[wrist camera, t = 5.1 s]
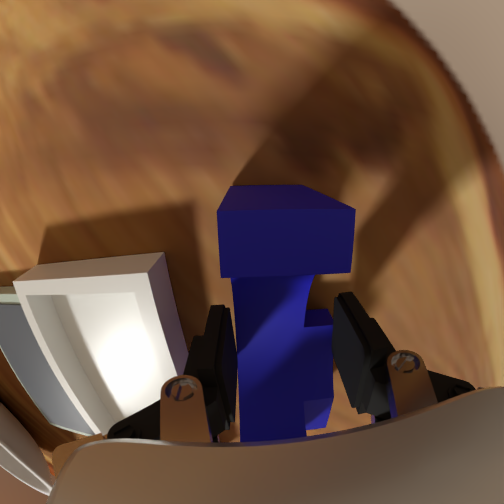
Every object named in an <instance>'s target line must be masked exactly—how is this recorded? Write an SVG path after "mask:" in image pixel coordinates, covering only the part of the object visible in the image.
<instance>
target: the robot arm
mask: <svg viewBox="0 0 504 504" xmlns="http://www.w3.org/2000/svg"><path fill="white" fill-rule="evenodd" d="M331 349H332V354H333V357H334V360H335V362H336V365H337V368H338V370H339V373H340V376H341V379H342V382H343V384H344V387H345V390H346V393H347V396H348V398H349V401H350V404H351V407H352V408H355V407H356V409H357V412H358V414H362V413H369V414H371V424H369V425H365V426H361V427H356V428H352V429H347V430H342V431H337V432H332V433H326V434H320V435H314V436H307V437H300V438H291V439H282V440H271V441H257V442H232V443H220V440H219V436H218V434H220V433H221V432H223V431H224V430H230V422H235V409H236V389H237V369H238V358H237V351H236V345H235V339H234V332H233V326H232V320H231V313H230V308H225V305H211V307H210V311H209V315H208V320H207V324H206V328H205V332H204V335H202V336H194V337H193V340H192V344H191V347H190V351H189V355H188V358H187V362H186V365H185V369H184V373H183V375H179V376H175V377H173V378H171V379H169V380H167V381H166V382H165V383H164V384H163V386H162V388H161V394H160V400H158V401H156V402H155V403H153V404H151V405H149V406H147V407H145V408H144V409H142V410H140V411H138V412H136V413H134V414H132V415H131V416H129V417H127V418H125V419H123V420H121V421H119V422H117V423H116V424H114V425H113V426H112V427H111V428H110V429H109V431H108V434H106V435H103V434H102V433H99V434H96V435H92V436H89V437H86V438H83V439H79V440H76V441H72V442H68V443H65V444H62V445H59V446H58V447H57V448H56V449H55V450H54V451H53V454H52V463H53V468H54V473H55V478H56V481H55V483H54V485H53V488H52V490H51V492H50V495H49V497H48V500H47V503H46V504H504V387H487V388H481V387H478V389H477V390H476V389H475V388H474V387H473V385H471V384H470V383H469V382H466V381H463V380H460V379H456V378H453V377H449V376H446V375H442V374H439V373H436V372H432V371H429V370H427V369H426V366H425V363H424V361H423V359H422V357H421V356H420V355H418V354H417V353H415V352H413V351H409V350H399V351H396V350H395V349H394V347H393V346H392V344H391V343H390V341H389V340H388V338H387V337H386V335H385V334H384V332H383V331H382V329H381V328H380V326H379V325H378V323H377V322H376V320H375V319H374V318H370V317H369V316H368V314H367V313H366V311H365V310H364V308H363V307H362V305H361V304H360V303H359V301H358V300H357V298H356V297H355V295H354V294H353V292H345V293H339V295H338V297H335V299H334V315H333V331H332V344H331Z"/></svg>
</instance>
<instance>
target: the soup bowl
mask: <svg viewBox="0 0 504 504" xmlns="http://www.w3.org/2000/svg"><path fill="white" fill-rule="evenodd" d="M0 466H1V467H2V468H4V469H5V470H6V471H8V472H9V473H10V474H12V475H13V476H15V477H16V478H18V479H19V480H21V481H22V482H24V483H25V484H27V485H29V486H30V487H32V488H34V489H36V490H38V491H40V492H42V493H44V494H46V495H48V496H49V495H50V492H51V490H52V488H53V485H52V481H51V475H50V471H49V467H48V465H47V462H46V460H45V458H44V455H43V454H42V452H41V450H40V448H39V446H38V445H37V443H36V442H35V440H34V439H33V438H32V436H31V435H30V434H29V433H28V431H27V430H26V429H25V428H24V427H23V425H22V424H21V423H20V422H19V421H18V420H17V419H16V418H15V417H14V416H13V415H12V413H11V412H10V411H9V410H8V409H7V408H6V407H5V406H4V405H3V404H2V403H1V402H0Z"/></svg>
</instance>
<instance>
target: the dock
mask: <svg viewBox="0 0 504 504" xmlns="http://www.w3.org/2000/svg"><path fill="white" fill-rule="evenodd" d="M12 282H13V285H14V287H15V290H16V293H17V296H18V298H19V301H20V304H21V306H22V309H23V311H24V313H25V316H26V318H27V321H28V323H29V325H30V327H31V330H32V332H33V334H34V336H35V338H36V340H37V342H38V344H39V346H40V348H41V350H42V352H43V354H44V356H45V358H46V360H47V362H48V363H49V365H50V367H51V369H52V371H53V372H54V374H55V376H56V377H57V379H58V381H59V382H60V384H61V386H62V387H63V389H64V391H65V392H66V394H67V395H68V397H69V398H70V400H71V401H72V403H73V404H74V406H75V407H76V409H77V410H78V412H79V413H80V414H81V416H82V417H83V419H84V420H85V421H86V423H87V424H88V425H89V427H90V428H91V429H92V431H93V432H94V433H95V434H99V433H102V434H103V435H106V434H108V431H109V429H110V428H111V427H112V426H113V425H114V424H116V423H117V422H119V421H121V420H123V419H125V418H127V417H129V416H131V415H132V414H134V413H136V412H138V411H140V410H142V409H144V408H145V407H147V406H149V405H151V404H153V403H155V402H156V401H158V400H160V394H161V388H162V386H163V384H164V383H165V382H166V381H167V380H169V379H171V378H173V377H175V376H179V375H183V373H184V369H185V365H186V362H187V358H188V355H189V353H188V350H187V346H186V343H185V339H184V335H183V332H182V328H181V324H180V320H179V316H178V312H177V308H176V304H175V300H174V295H173V291H172V287H171V282H170V278H169V273H168V268H167V263H166V258H165V253H164V252H158V253H148V254H137V255H127V256H117V257H107V258H98V259H88V260H78V261H69V262H59V263H50V264H40V265H36V266H34V267H33V268H31V269H30V270H28V271H27V272H25V273H24V274H22V275H21V276H20V277H18V278H17V279H15V280H14V281H12Z"/></svg>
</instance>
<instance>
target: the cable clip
mask: <svg viewBox="0 0 504 504" xmlns="http://www.w3.org/2000/svg"><path fill="white" fill-rule="evenodd" d="M355 211H356V209H354V208H352V207H350V206H348V205H346V204H344V203H341V202H339V201H337V200H335V199H333V198H331V197H328V196H326V195H324V194H322V193H319V192H317V191H315V190H313V189H310V188H308V187H306V186H303V185H247V186H230V188H229V190H228V192H227V193H226V195H225V197H224V199H223V201H222V203H221V204H220V206H219V208H218V210H217V223H218V241H219V257H220V272H221V278H231V284H232V292H233V302H234V313H235V327H236V343H237V358H238V384H239V412H240V442H257V441H271V440H282V439H291V438H300V437H307V435H306V430H311V429H318V428H325V427H326V425H327V421H328V418H329V414H330V410H331V406H332V403H333V399H334V392H333V354H332V349H331V344H332V331H333V318H332V316H331V314H330V313H329V311H328V309H315V310H306V305H307V299H308V295H309V290H310V287H311V283H312V281H313V278H314V276H315V275H317V274H337V273H351V263H352V253H353V241H354V228H355Z"/></svg>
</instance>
